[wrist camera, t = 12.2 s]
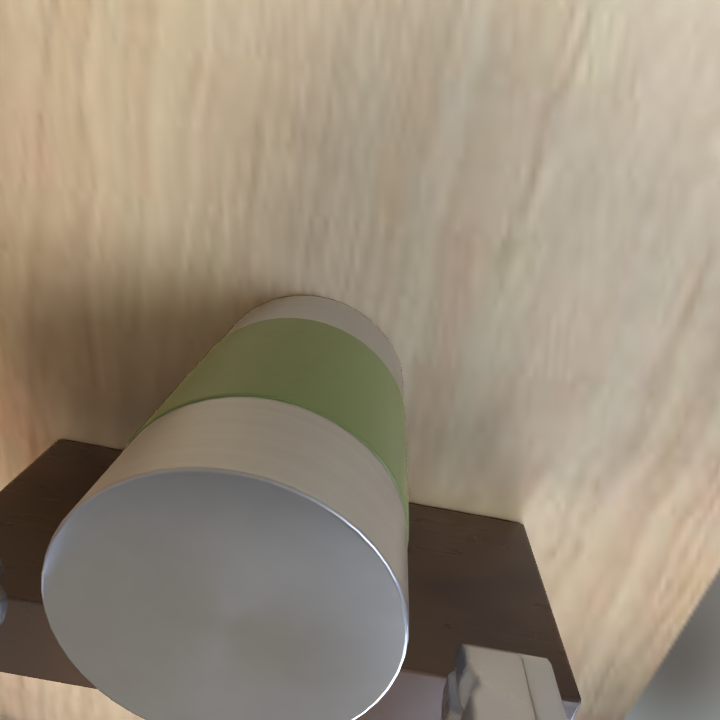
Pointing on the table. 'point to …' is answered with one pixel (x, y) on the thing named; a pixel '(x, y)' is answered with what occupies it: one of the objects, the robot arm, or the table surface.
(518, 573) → the brown wooden block
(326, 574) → the can
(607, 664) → the table surface
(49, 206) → the table surface
